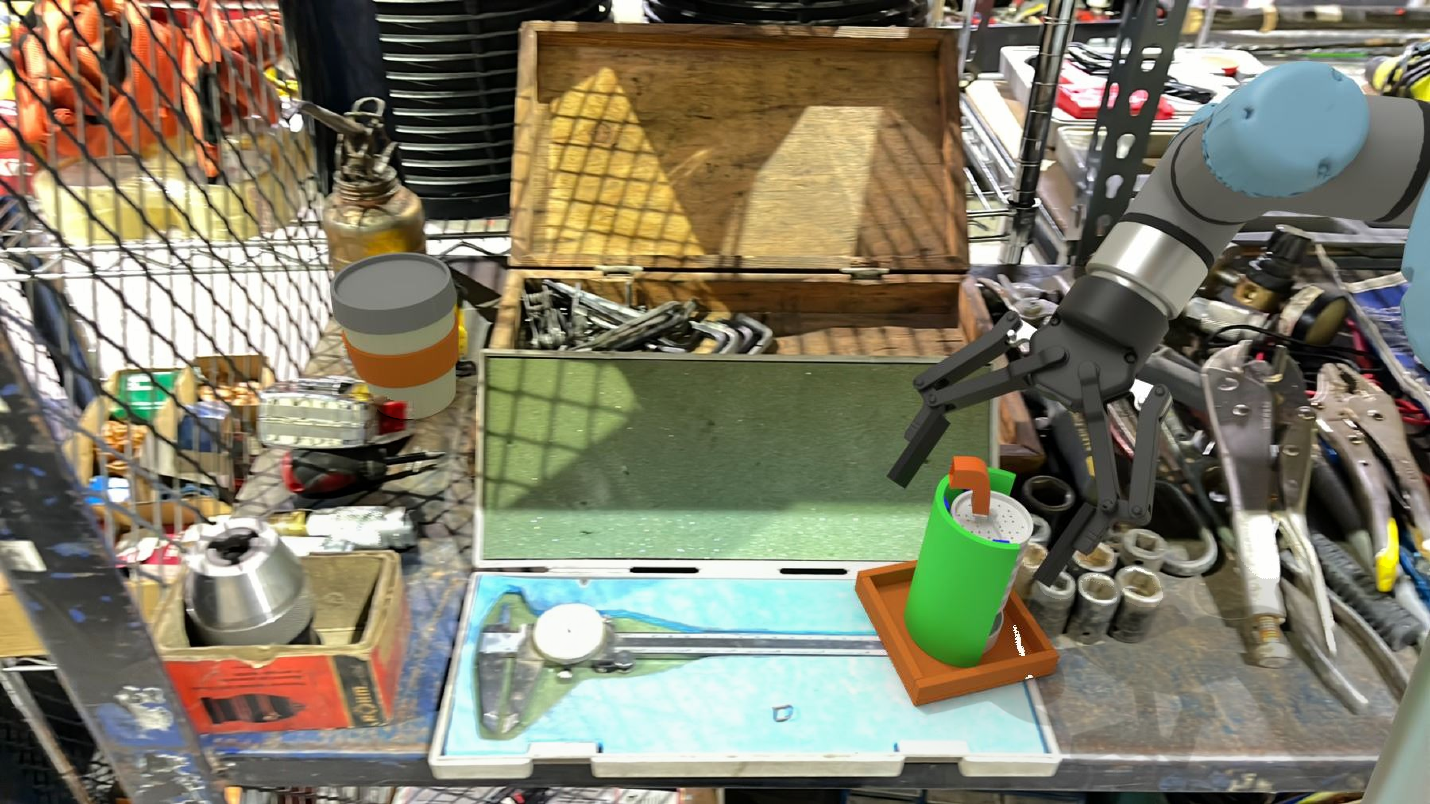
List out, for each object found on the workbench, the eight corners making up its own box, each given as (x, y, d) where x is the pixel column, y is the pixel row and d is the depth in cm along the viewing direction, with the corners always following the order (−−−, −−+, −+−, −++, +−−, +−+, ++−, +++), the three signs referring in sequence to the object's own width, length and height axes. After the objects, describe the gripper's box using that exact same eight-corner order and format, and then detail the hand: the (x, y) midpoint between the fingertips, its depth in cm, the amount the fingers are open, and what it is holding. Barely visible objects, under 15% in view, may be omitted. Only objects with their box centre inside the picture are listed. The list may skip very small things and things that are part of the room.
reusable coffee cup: (376, 362, 108) (349, 249, 99) (482, 365, 108) (465, 252, 99) (341, 429, 98) (308, 309, 89) (458, 431, 98) (437, 313, 89)
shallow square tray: (1052, 674, 76) (1060, 656, 74) (914, 706, 73) (919, 688, 71) (978, 564, 85) (984, 546, 84) (854, 589, 82) (857, 570, 81)
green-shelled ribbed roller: (1011, 668, 75) (1070, 510, 64) (915, 668, 75) (957, 510, 64) (983, 583, 83) (1031, 429, 72) (895, 583, 82) (930, 428, 71)
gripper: (1296, 391, 64) (1121, 637, 65) (1000, 257, 79) (861, 458, 80) (1296, 354, 58) (1103, 626, 59) (975, 216, 73) (825, 435, 74)
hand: (963, 530), depth 69 cm, fingers open, 13 cm apart
